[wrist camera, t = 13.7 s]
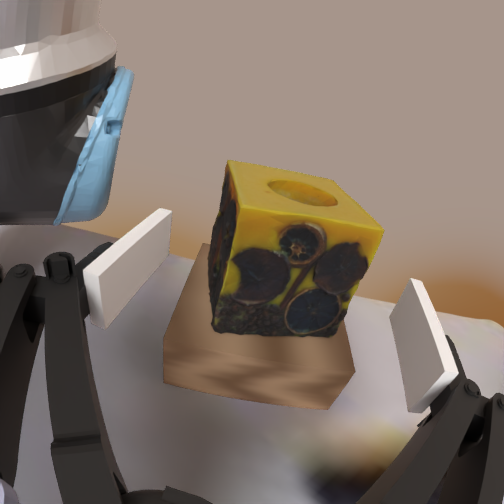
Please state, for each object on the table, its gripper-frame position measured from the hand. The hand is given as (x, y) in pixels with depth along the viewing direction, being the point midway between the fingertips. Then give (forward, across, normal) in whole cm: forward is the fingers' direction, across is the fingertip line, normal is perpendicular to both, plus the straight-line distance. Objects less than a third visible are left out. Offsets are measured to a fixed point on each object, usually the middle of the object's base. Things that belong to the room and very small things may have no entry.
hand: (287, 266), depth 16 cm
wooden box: (+8, 0, -14) cm, 16 cm away
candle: (+8, -1, -8) cm, 11 cm away
